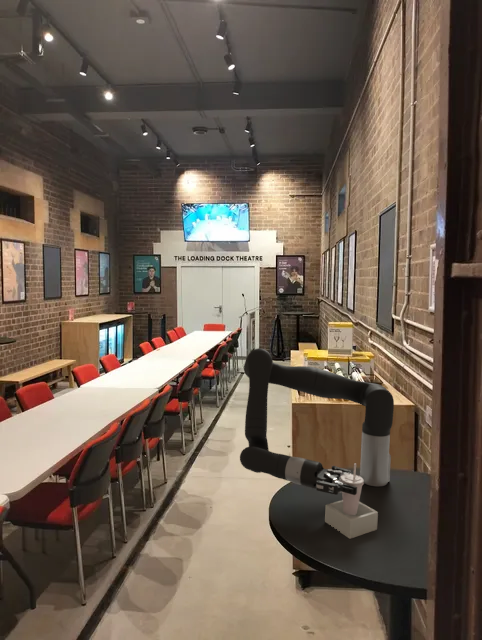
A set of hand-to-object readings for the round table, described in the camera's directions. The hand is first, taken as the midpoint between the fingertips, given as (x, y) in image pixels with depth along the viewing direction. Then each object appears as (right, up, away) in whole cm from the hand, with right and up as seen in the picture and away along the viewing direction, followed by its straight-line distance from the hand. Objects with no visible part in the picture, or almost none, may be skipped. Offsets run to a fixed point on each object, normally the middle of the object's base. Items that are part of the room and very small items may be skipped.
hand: (360, 486), depth 130 cm
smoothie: (-2, -8, +2) cm, 9 cm away
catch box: (-2, -12, +2) cm, 12 cm away
